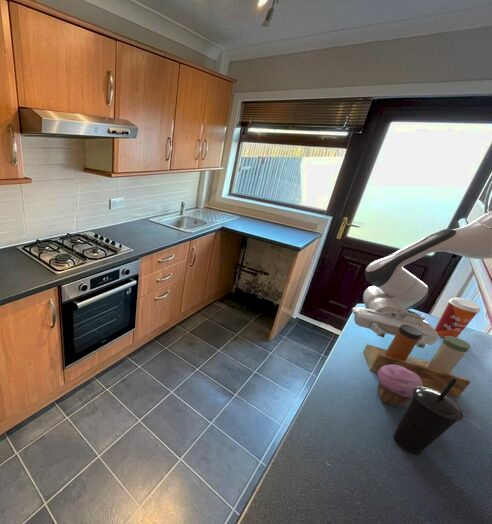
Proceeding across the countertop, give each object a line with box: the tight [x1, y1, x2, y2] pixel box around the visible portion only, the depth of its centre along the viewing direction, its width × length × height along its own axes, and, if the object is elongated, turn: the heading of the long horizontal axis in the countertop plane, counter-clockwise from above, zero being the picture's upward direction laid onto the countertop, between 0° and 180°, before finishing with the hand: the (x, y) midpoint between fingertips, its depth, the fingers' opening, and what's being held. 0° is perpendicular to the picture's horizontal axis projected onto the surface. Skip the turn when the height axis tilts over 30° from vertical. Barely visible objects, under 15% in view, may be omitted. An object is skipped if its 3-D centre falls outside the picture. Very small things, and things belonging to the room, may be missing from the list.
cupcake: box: [376, 365, 424, 407], centre depth 72 cm, size 9×9×10 cm
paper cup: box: [434, 296, 481, 339], centre depth 98 cm, size 8×8×14 cm
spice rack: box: [362, 344, 471, 399], centre depth 82 cm, size 20×9×6 cm, turn 65°
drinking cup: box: [392, 378, 465, 455], centre depth 59 cm, size 8×8×20 cm
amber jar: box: [385, 325, 423, 361], centre depth 81 cm, size 5×5×11 cm
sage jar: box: [426, 336, 471, 374], centre depth 78 cm, size 5×5×11 cm
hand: (401, 340), depth 82 cm, fingers open, 8 cm apart
